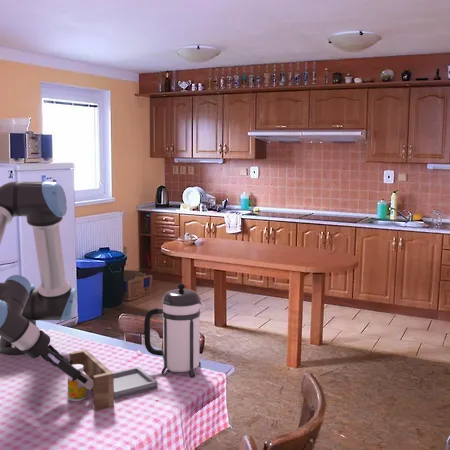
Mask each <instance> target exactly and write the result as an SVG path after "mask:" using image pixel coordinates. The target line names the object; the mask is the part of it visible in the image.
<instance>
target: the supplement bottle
mask: <svg viewBox="0 0 450 450" xmlns="http://www.w3.org/2000/svg"><path fill="white" fill-rule="evenodd" d="M72 366H73V367H75V368H76V369H77V370H78V371H81V372H82V373H84V374H85V375H86V373H85V372H83V371H84V367H83V365H81V364H74V365H72ZM72 379H73V378H72V377H70V376H69V375H67V398H68V400H69V401H72V402H81V401H83V400H85V399H86V398H87V396H88V394H87V393H88V392H87V390H88V389H87V388H86V387H84V386H83V385H82V384H80V383H79V382H78V381H76V380H75V381H74V382H73V381H72Z"/></svg>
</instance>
